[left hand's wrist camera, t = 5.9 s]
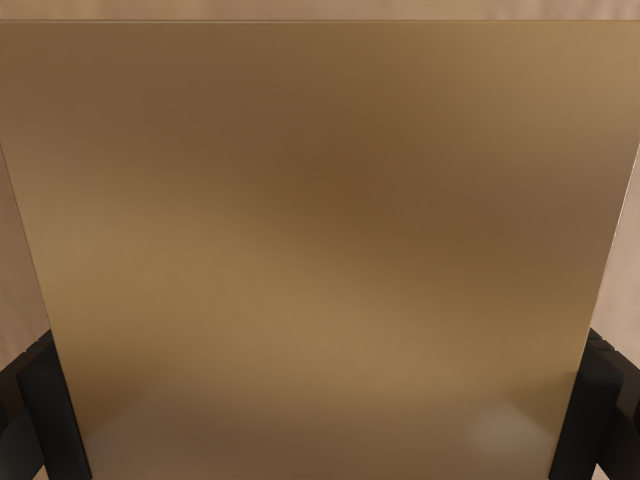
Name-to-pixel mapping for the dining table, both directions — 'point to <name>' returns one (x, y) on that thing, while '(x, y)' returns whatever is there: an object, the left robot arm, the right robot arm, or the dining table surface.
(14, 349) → the dining table surface
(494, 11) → the dining table surface
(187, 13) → the dining table surface
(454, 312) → the wide beam
